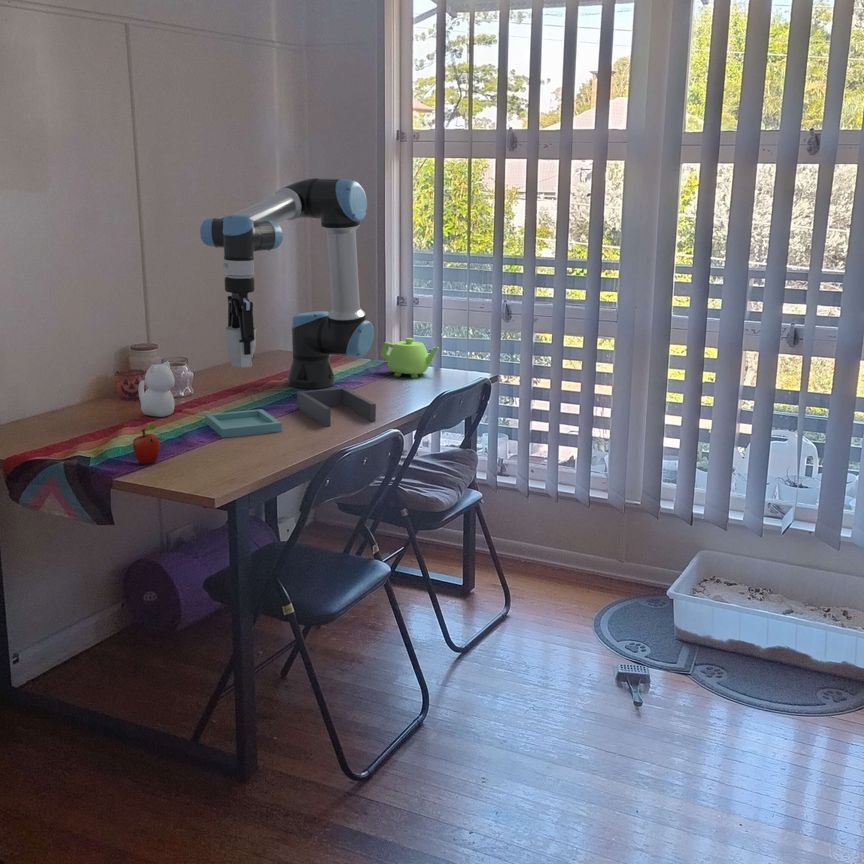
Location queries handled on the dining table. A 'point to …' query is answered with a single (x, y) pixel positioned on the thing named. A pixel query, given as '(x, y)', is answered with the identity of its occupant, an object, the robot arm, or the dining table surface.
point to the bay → (334, 404)
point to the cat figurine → (157, 391)
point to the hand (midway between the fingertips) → (241, 363)
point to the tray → (243, 423)
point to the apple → (146, 446)
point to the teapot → (408, 357)
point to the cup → (236, 345)
